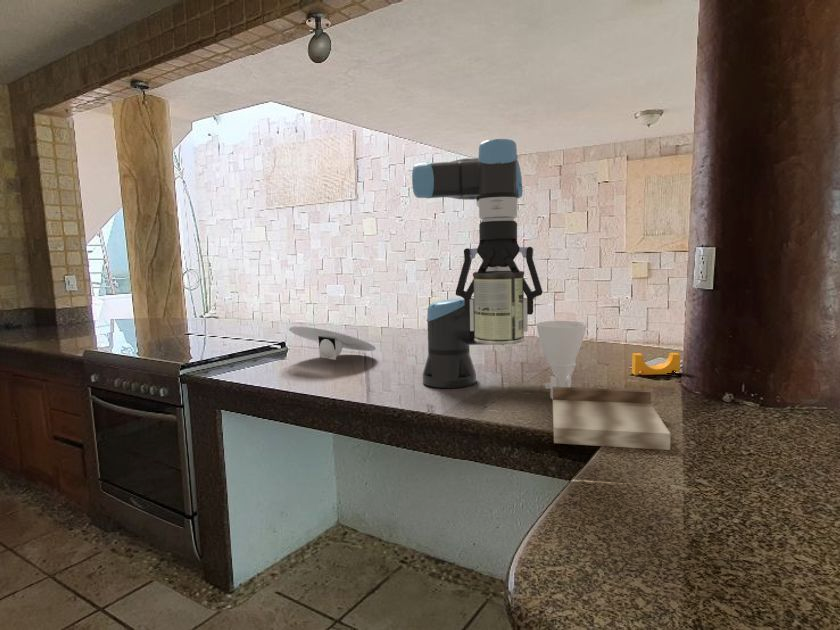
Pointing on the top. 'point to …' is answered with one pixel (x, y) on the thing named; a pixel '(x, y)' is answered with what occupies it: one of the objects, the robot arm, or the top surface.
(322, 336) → the grey cake stand
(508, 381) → the top surface
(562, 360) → the rocket engine
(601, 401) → the birch platform
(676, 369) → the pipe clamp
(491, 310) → the coffee can
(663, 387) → the top surface
